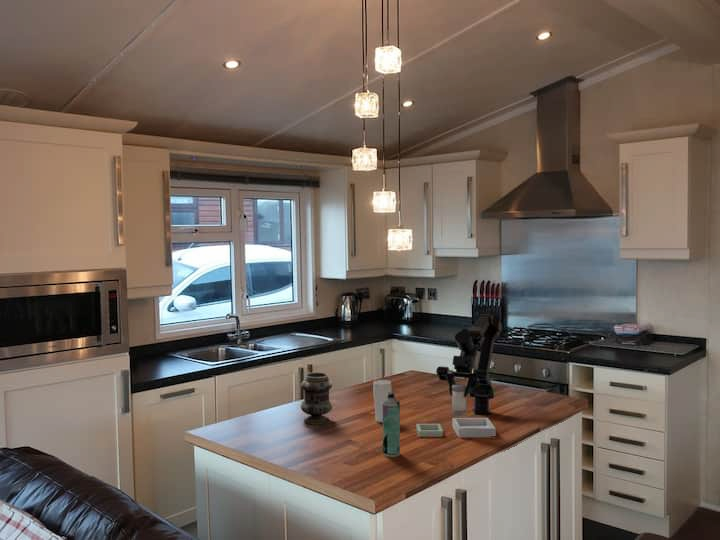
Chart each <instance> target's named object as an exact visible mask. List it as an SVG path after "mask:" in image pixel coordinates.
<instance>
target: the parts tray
mask: <svg viewBox="0 0 720 540" xmlns="http://www.w3.org/2000/svg"><path fill="white" fill-rule="evenodd" d="M452 428H453V430H454V432H455V434H456V435H457V436H456V437H458V438H460V439H461V438H463V439H464V438H468V437H469V438H491V437H490V436H496V437H497V428H496V427H495V426H494V424H493V423H492V421H491V420H490V419H489V418H488V417H453V418H452ZM488 436H489V437H488Z"/></svg>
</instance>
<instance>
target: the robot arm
mask: <svg viewBox="0 0 720 540" xmlns="http://www.w3.org/2000/svg"><path fill="white" fill-rule="evenodd" d="M502 330H503V325H502V322H501V321H500V319H498V318H496V317H494V315H492V314H489V313H487V314H486V313H482V314H479V316H478V319H477V320H476V321H475V323H474V324H473V325H472V326H470V327H466V328H462V330H461V331H458V332H457V333H456V334H455V335H454V339H455V342H456V345H457V348H458V350H459V351H460V354H459V355H453V357H452V366H454V367H453V369H454V370H455V371H454V370H453V369H450V368H449V366H438V367H437V368H436V371H435V373H436V375H437V377H438V380H440V381H442V382H443V381H446V383H448V388H449V389H448V390H449V395H450V396H451V397H452V385H453V384H456V380H455V378H459V379H460V378H461V379H467V384H466V390H465V393H464V397H466V398H467V397H468V396H469V397H470V398H473V399H474V400H473V402H474V407H473V408H472V409H471V410H472V413H474V414H475V415H492V411H491V410H490V400H491V399H494V397H495V391H494V388H493V385H492V379H490V378H491V377H490V369H491V362H492V358H493V357H492V355H493V351H494V350H493V349H494V345H495V342H496V341H497V340H498V339H499V338H500V335H501V332H502ZM480 346H481V349H480V353H479V357H478V363H477V369H476V371H475V372H473V370H474V369H475V363H476V362H475V361H476V358H477V356H478V348H477V347H480Z"/></svg>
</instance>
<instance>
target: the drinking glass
mask: <svg viewBox="0 0 720 540" xmlns="http://www.w3.org/2000/svg"><path fill="white" fill-rule="evenodd" d="M372 391H373V403H374V414H375V415H374V416H375V418H374V419H375V421H376V422H377V423H380V424H381V423H382V424H383V400H384V399H386V398H387V396H388V393H391V392H392V382H391V380H386V379H379V380H374V381H373V388H372Z"/></svg>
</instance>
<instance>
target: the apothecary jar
mask: <svg viewBox="0 0 720 540" xmlns="http://www.w3.org/2000/svg"><path fill="white" fill-rule="evenodd" d="M300 386H301V389H302V390H304V391H303V392H304V394H303V395H304V396H303V401H302V402H301V404H300V409H301V410H302V412H303V413H305V414H307V415H309V416H307V417H305V418H304V419H303V423H305V424H308V425H315V426H316V425H324V424H325V425H326V424H327V423H329V422H330V421H331V420H330V418H329V417H327V416H325V415H326V414H328V413H330V412H331V411H332V409H333V403H332V402H331V401H330V390H331V389H332V387H333V382H332V380H330V379H329V375H328V373H326V372H321V371H314V372H308V373H306V374H305V378H304V379H303V380H302V382H301V383H300Z"/></svg>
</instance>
